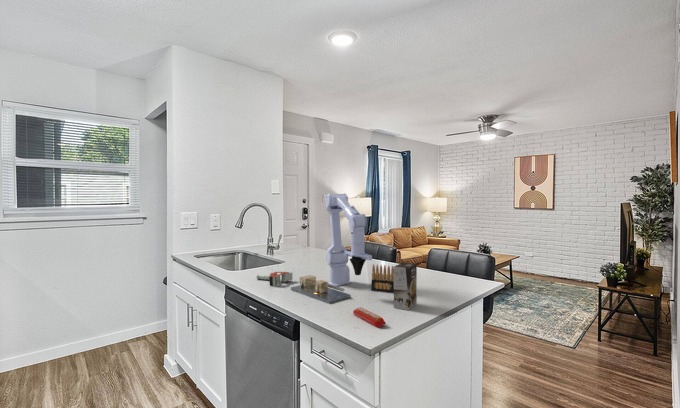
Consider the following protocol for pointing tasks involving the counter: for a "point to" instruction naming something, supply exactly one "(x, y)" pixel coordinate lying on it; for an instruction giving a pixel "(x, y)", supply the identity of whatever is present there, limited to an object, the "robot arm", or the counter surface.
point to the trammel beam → (310, 281)
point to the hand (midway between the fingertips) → (357, 274)
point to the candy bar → (369, 317)
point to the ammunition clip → (382, 279)
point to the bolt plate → (322, 294)
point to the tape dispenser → (276, 278)
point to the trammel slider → (321, 286)
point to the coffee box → (405, 286)
